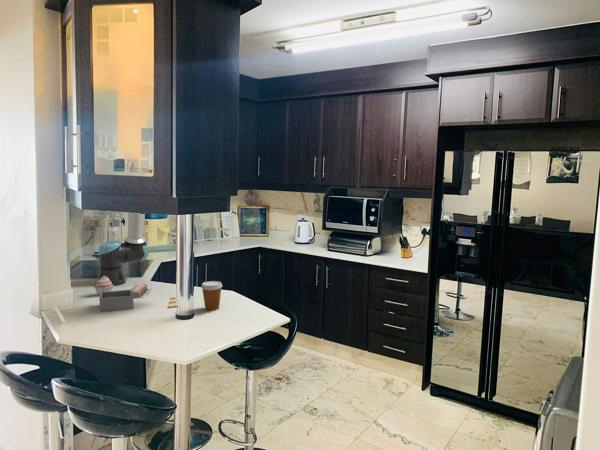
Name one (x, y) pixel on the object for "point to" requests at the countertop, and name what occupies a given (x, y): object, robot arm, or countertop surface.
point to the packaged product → (140, 290)
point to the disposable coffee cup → (211, 294)
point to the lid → (159, 248)
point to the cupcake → (103, 285)
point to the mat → (172, 302)
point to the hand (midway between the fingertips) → (183, 253)
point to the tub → (116, 300)
